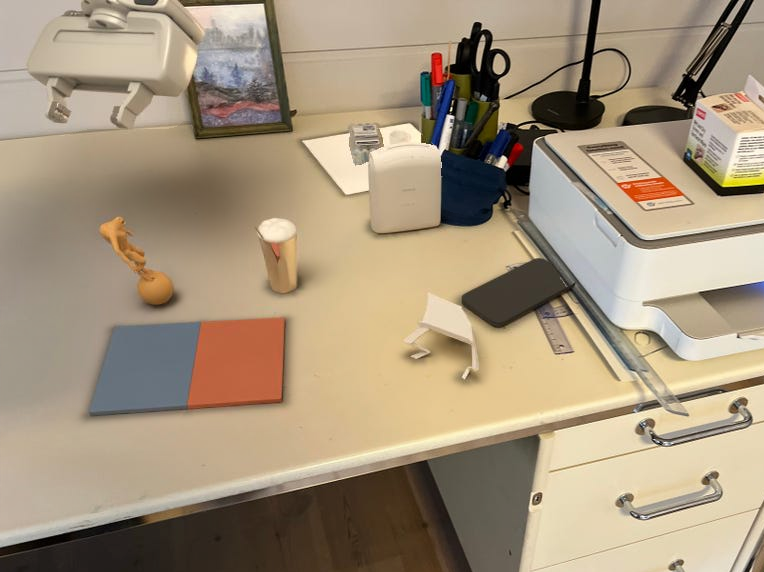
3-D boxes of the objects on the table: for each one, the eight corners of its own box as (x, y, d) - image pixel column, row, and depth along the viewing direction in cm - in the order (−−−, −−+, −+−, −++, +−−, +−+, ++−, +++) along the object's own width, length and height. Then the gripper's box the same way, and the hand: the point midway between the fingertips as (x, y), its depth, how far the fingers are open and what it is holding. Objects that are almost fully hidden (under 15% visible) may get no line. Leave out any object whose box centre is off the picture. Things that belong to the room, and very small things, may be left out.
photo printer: (373, 237, 105) (371, 155, 97) (367, 221, 108) (364, 140, 100) (444, 228, 108) (447, 148, 100) (435, 213, 111) (438, 134, 103)
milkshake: (253, 290, 94) (241, 220, 88) (284, 271, 98) (275, 203, 91) (278, 303, 92) (269, 233, 86) (310, 284, 96) (303, 215, 89)
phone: (457, 296, 94) (539, 255, 102) (457, 301, 95) (538, 260, 103) (497, 325, 91) (580, 280, 99) (497, 330, 91) (579, 285, 99)
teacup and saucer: (382, 173, 119) (381, 149, 117) (362, 152, 125) (361, 128, 122) (431, 163, 123) (432, 140, 120) (410, 143, 128) (410, 120, 125)
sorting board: (90, 416, 76) (88, 411, 76) (116, 330, 87) (114, 326, 86) (281, 402, 80) (281, 398, 79) (284, 321, 90) (284, 317, 90)
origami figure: (385, 345, 88) (384, 312, 84) (436, 316, 93) (437, 283, 89) (458, 397, 82) (460, 364, 79) (509, 363, 87) (513, 330, 83)
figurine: (180, 317, 89) (158, 230, 81) (126, 328, 87) (98, 239, 79) (172, 279, 95) (150, 194, 87) (120, 288, 93) (94, 202, 85)
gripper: (36, -8, 85) (-7, 101, 82) (180, -7, 78) (138, 112, 75) (80, 28, 90) (41, 132, 88) (218, 32, 84) (179, 144, 81)
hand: (86, 123), depth 82 cm, fingers open, 8 cm apart
